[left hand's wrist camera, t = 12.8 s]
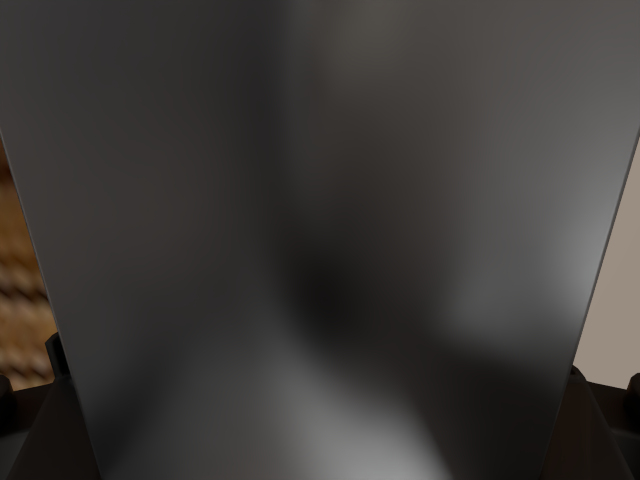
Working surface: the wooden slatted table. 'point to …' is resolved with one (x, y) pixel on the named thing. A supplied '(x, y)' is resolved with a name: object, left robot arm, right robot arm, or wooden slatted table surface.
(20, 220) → the wooden slatted table surface
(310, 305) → the box
